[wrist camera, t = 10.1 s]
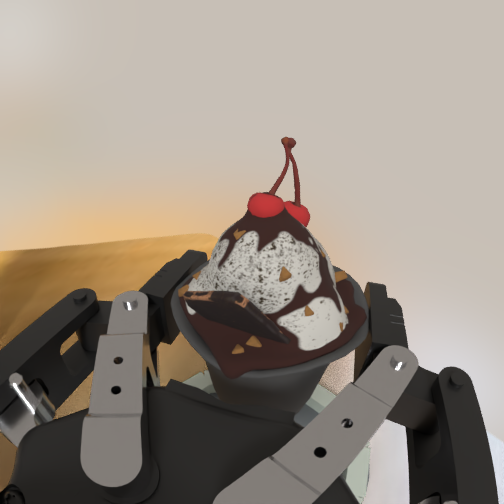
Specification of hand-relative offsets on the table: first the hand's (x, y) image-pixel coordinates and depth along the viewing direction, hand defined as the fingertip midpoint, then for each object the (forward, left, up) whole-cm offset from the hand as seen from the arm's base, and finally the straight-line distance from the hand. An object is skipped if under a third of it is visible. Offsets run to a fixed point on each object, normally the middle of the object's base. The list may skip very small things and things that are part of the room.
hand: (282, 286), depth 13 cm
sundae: (-1, -2, -9) cm, 9 cm away
